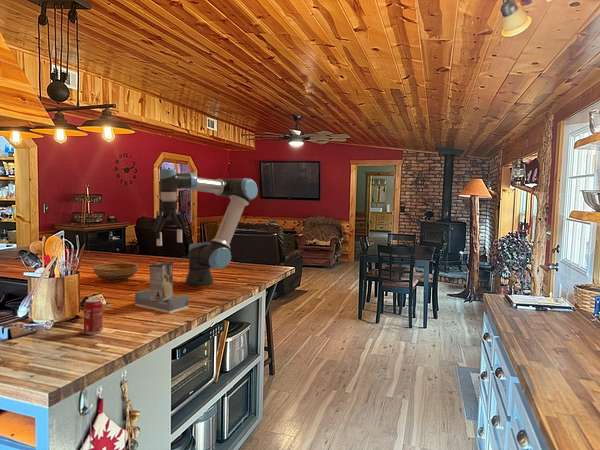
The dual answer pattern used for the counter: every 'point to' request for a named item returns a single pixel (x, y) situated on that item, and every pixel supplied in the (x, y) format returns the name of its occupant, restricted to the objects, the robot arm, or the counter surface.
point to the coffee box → (161, 281)
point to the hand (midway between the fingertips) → (169, 244)
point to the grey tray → (166, 306)
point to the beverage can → (93, 316)
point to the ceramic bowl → (115, 271)
